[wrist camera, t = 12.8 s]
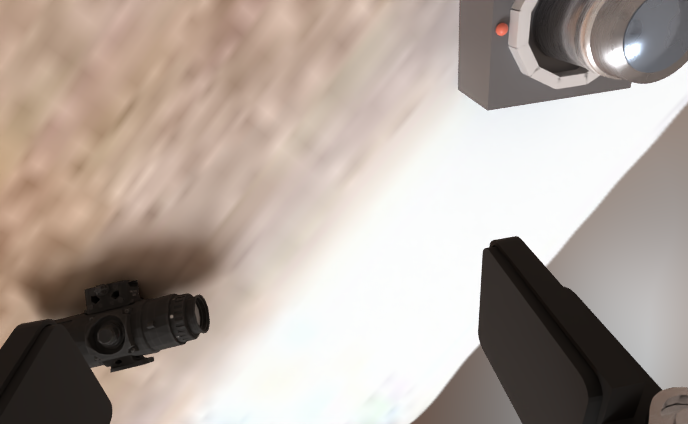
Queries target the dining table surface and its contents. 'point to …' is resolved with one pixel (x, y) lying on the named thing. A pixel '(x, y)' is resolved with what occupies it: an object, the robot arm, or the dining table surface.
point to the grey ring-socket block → (515, 59)
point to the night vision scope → (133, 324)
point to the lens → (615, 36)
